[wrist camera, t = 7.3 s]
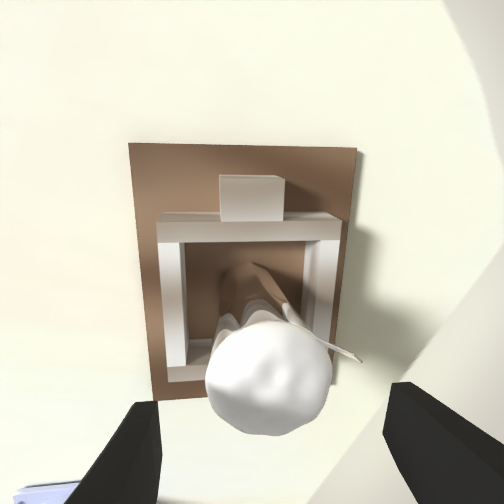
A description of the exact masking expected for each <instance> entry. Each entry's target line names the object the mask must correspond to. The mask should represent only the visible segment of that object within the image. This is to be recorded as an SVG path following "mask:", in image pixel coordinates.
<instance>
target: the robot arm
mask: <svg viewBox="0 0 504 504" xmlns="http://www.w3.org/2000/svg"><path fill="white" fill-rule="evenodd" d="M383 436H384V438H385V440H386V443H387V445H388V448H389V450H390V452H391V454H392V456H393V459H394V461H395V463H396V465H397V467H398V469H399V471H400V473H401V475H402V476H403V478H404V480H405V482H406V483H407V485H408V487H409V488H410V490H411V492H412V494H413V495H414V497H415V499H416V501H417V502H418V504H504V444H502V443H501V442H499V441H497V440H496V439H495V438H493V437H491V436H490V435H488V434H487V433H485V432H484V431H482V430H481V429H479V428H478V427H476V426H475V425H473V424H472V423H471V422H469V421H468V420H466V419H465V418H463V417H462V416H460V415H459V414H457V413H456V412H455V411H453V410H451V409H450V408H449V407H447V406H446V405H444V404H443V403H441V402H440V401H438V400H437V399H436V398H434V397H432V396H431V395H430V394H428V393H426V392H425V391H423V390H422V389H421V388H419V387H418V386H416V385H414V384H413V383H411V382H399V383H392V385H391V391H390V396H389V402H388V407H387V412H386V418H385V422H384V428H383ZM161 463H162V444H161V434H160V423H159V412H158V401H146V402H135V403H134V404H133V405H132V406H131V408H130V410H129V411H128V413H127V415H126V416H125V418H124V419H123V421H122V423H121V424H120V426H119V427H118V429H117V430H116V432H115V433H114V435H113V436H112V438H111V439H110V441H109V442H108V444H107V445H106V447H105V448H104V450H103V451H102V452H101V454H100V455H99V457H98V458H97V459H96V461H95V462H94V464H93V465H92V466H91V468H90V469H89V471H88V472H87V473H86V475H85V476H84V478H83V479H82V480H81V482H80V483H70V484H60V485H50V486H40V487H31V488H22V489H19V490H17V491H16V493H15V495H14V496H13V500H14V503H15V504H156V501H157V496H158V488H159V480H160V471H161Z"/></svg>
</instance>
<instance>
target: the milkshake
mask: <svg viewBox="0 0 504 504" xmlns="http://www.w3.org/2000/svg"><path fill="white" fill-rule="evenodd" d="M323 345H324V346H326V347H328V348H330V349H333V350H335V351H337V352H339V353H341V354H343V355H346V356H348V357H350V358H352V359H354V360H356V361H358V362H361V363H363V362H362V360H360V359H359V358H358V357H357V356H356V355H355V354H353V353H351V352H349V351H346V350H344V349H342V348H340V347H337V346H335V345H333V344H330V343H328V342H326V341H324V340H321V339H319V338H317V337H316V335H315V334H314V333H313V332H312V330H311V329H310V328H309V327H308V325H307V324H306V323H305V321H304V320H303V319H302V318H301V316H300V315H299V314H298V313H297V311H296V310H295V309H294V307H293V306H292V305H291V304H290V302H289V301H288V299H287V298H286V296H285V295H284V294H283V292H282V291H281V289H280V288H279V286H278V285H277V284H276V282H275V281H274V279H273V278H272V276H271V275H270V274H269V272H268V271H267V269H265V268H263V267H260V266H258V265H256V264H254V263H252V262H250V263H245V264H239V265H234V266H233V267H232V268H231V269H230V270H229V271H228V272H227V273H226V274H225V275H224V276H223V277H222V279H221V286H220V293H219V301H218V310H217V319H216V325H215V329H214V334H213V339H212V344H211V350H210V355H209V361H208V367H207V371H206V376H205V386H206V391H207V395H208V398H209V401H210V404H211V406H212V408H213V410H214V411H215V413H216V414H217V415H218V416H219V417H221V418H222V419H223V420H224V421H226V422H227V423H229V424H230V425H232V426H233V427H234V428H236V429H238V430H239V431H241V432H244V433H247V434H258V435H270V436H280V435H284V434H287V433H289V432H291V431H293V430H295V429H296V428H298V427H300V426H302V425H304V424H307V423H309V422H311V421H312V420H314V419H315V418H316V417H317V416H318V414H319V413H320V411H321V410H322V408H323V406H324V404H325V401H326V398H327V395H328V392H329V388H330V384H331V380H332V363H331V360H330V357H329V355H328V352H327V351H326V349H325V347H324V346H323Z"/></svg>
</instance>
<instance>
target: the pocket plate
mask: <svg viewBox="0 0 504 504" xmlns="http://www.w3.org/2000/svg"><path fill="white" fill-rule="evenodd" d="M128 146H129V156H130V166H131V177H132V187H133V197H134V207H135V218H136V228H137V238H138V249H139V259H140V269H141V279H142V290H143V300H144V310H145V320H146V331H147V341H148V351H149V361H150V372H151V382H152V392H153V401H162V400H176V399H189V398H202V397H208V395H207V391H206V386H205V376H206V371H207V367H208V361H209V355H210V350H211V344H212V339H213V334H214V329H215V325H216V319H217V310H218V301H219V293H220V286H221V279H222V277H223V276H224V275H225V274H226V273H227V272H228V271H229V270H230V269H231V268H232V267H233V266H234V265H239V264H245V263H250V262H252V263H254V264H256V265H258V266H260V267H263V268H265V269H267V271H268V272H269V274H270V275H271V276H272V278H273V279H274V281H275V282H276V284H277V285H278V286H279V288H280V289H281V291H282V292H283V294H284V295H285V296H286V298H287V299H288V301H289V302H290V304H291V305H292V306H293V307H294V309H295V310H296V311H297V313H298V314H299V315H300V316H301V318H302V319H303V320H304V321H305V323H306V324H307V325H308V327H309V328H310V329H311V330H312V332H313V333H314V334H315V335H316V337H317V338H319V339H321V340H324V341H326V342H328V343H330V344H333V345H334V344H335V336H336V327H337V318H338V310H339V301H340V292H341V284H342V275H343V266H344V258H345V249H346V240H347V232H348V223H349V214H350V206H351V197H352V188H353V180H354V171H355V162H356V154H357V148H343V147H298V146H252V145H206V144H160V143H128ZM323 346H324V345H323ZM324 347H325V349H326V351H327V352H328V355H329V357H330V360H331V363H332V362H333V353H334V350H333V349H330V348H328V347H326V346H324Z"/></svg>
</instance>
